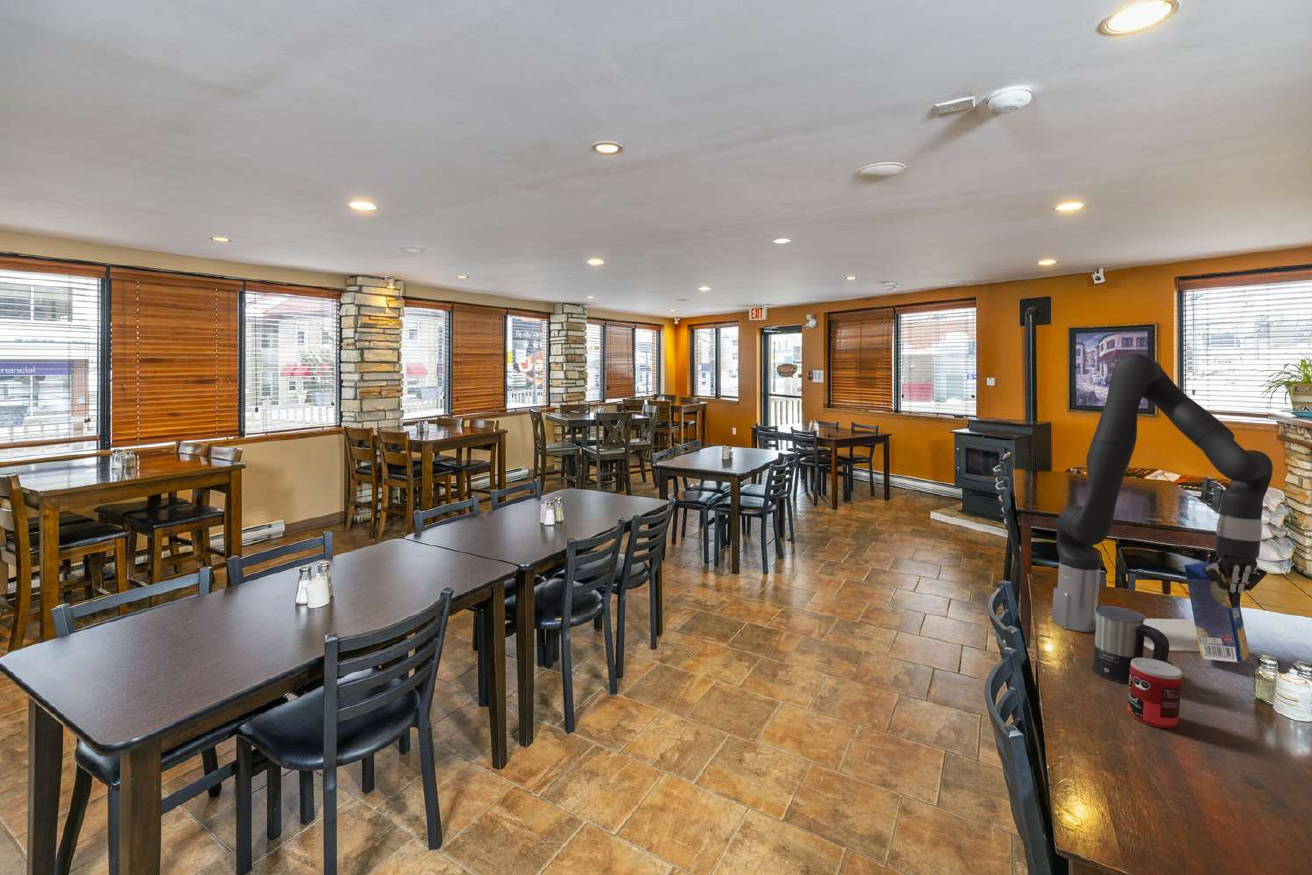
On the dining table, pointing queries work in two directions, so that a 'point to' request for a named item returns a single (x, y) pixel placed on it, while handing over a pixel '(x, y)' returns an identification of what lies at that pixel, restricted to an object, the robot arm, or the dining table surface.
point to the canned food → (1154, 692)
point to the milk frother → (1123, 642)
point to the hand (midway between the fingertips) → (1230, 606)
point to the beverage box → (1215, 618)
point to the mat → (1175, 634)
